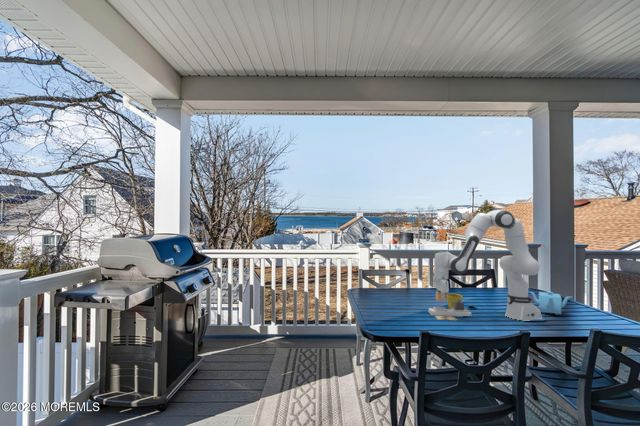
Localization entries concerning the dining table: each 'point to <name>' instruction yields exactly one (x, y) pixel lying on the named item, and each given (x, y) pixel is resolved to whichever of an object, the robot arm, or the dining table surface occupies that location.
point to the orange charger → (439, 296)
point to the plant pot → (453, 299)
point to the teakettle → (550, 302)
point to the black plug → (459, 305)
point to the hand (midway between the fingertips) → (440, 297)
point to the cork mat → (445, 318)
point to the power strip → (448, 312)
